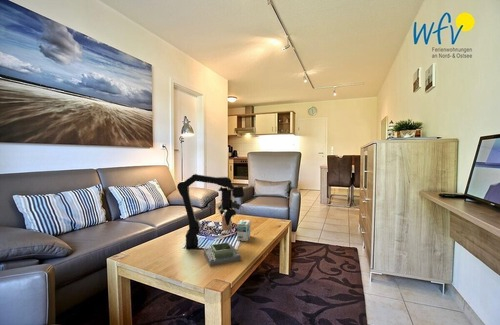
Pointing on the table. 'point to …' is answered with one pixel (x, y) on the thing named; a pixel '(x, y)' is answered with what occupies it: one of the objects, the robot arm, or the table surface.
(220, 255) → the gearbox housing
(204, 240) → the table surface
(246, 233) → the light bulb box
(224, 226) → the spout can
